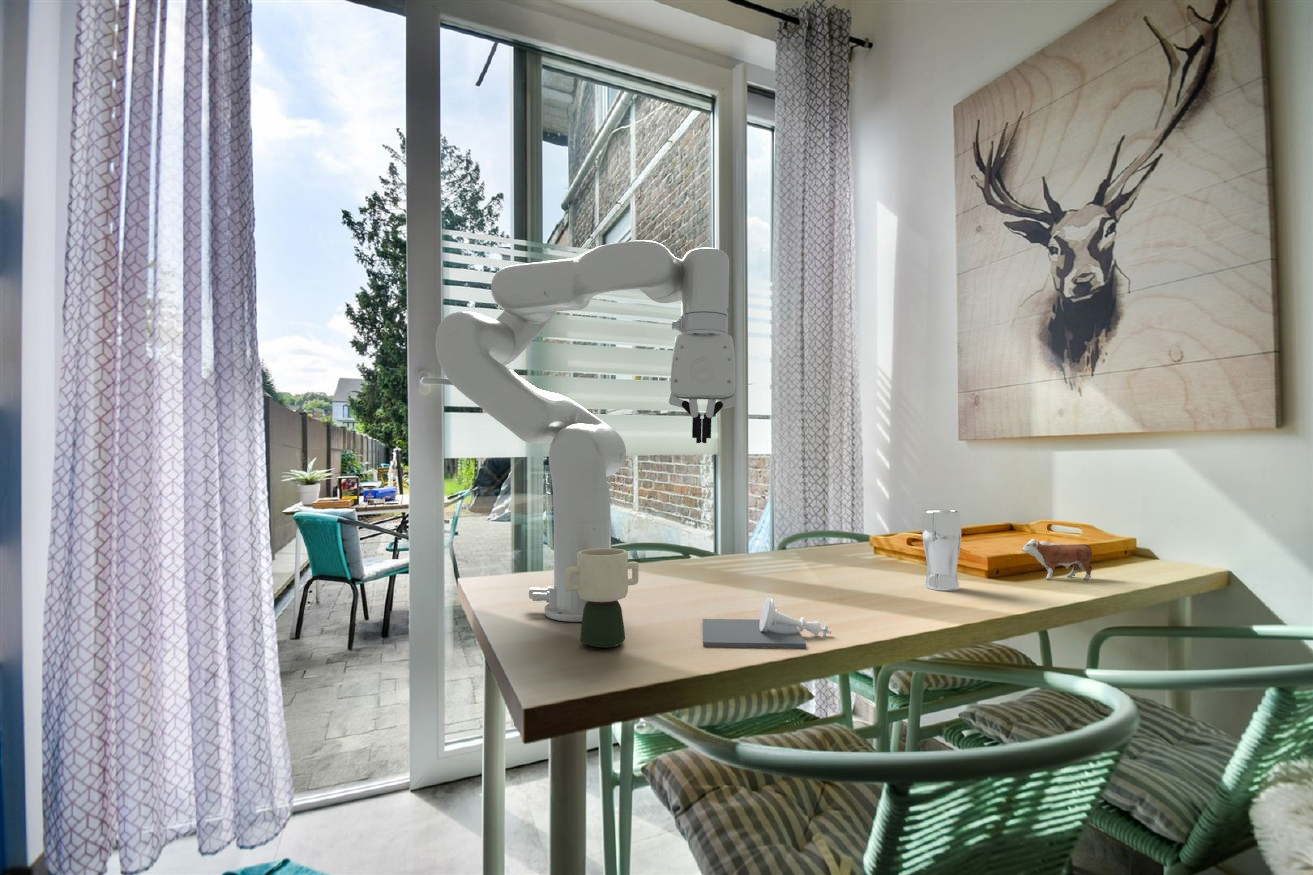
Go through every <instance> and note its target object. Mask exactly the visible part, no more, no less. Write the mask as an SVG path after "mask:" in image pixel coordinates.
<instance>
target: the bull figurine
mask: <svg viewBox="0 0 1313 875" xmlns="http://www.w3.org/2000/svg"><path fill="white" fill-rule="evenodd" d="M1021 552H1022V553H1026V554H1027V553H1028V554H1029V555H1030V556H1032V557H1034V558H1035V559H1036V560H1037V562H1038V563H1040V564H1041V565H1042V566H1043V567H1045V569H1046V570H1047V575H1045V580H1046V581H1050V580H1052V579H1053V577H1054V575H1053V573H1054V571H1055V569H1056V566H1063V567H1065V569H1066V570H1069V568H1070V567H1071V566H1072V569H1071V571H1070V572H1069V573H1068V574H1067V575H1066V578H1073V577H1075V576H1076V572H1077V571H1079V573H1081V572H1082V571H1084V569H1085V576H1084V578H1083V580H1084V581H1089V580H1090V579H1091V578H1092V575H1091V574H1092V570H1093V567H1092V564H1091V560H1092V557H1093V551H1092V547H1090V545H1088V544H1086V543H1081V544H1074V543H1073V544H1061V543H1060V544H1058V543H1053V542H1049V541H1045V540H1041V541H1037V539H1035V538H1031V539H1030V540H1029V541H1028V542H1026V543H1025V545H1024V546H1023V548H1021Z"/></svg>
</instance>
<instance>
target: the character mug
mask: <svg viewBox="0 0 1313 875" xmlns="http://www.w3.org/2000/svg"><path fill="white" fill-rule="evenodd" d="M629 569H630V570H631V569H632V570H631V578H629ZM576 573H577V584H572V574H576ZM638 582H639V563H638V562H637V561H629V554H628V550H625V549H622V548H621V549H620V548H613V547H611V548H594V549H586V550H582V551H579V552H578V553H577V566H575V567H568V568H566V569H565V590H566V591H578V594H579V596H580V598H581V599H584V600H586V601H588V602H587V603H586V604H585V606H584V610H583V618H582V622H581V625H580V636H579V637H580V638H579V641H580V642H581V643H583V644H584V645H587V646H591V647H596V648H611V647H616V646H618V645H621V644H622V643H624V641H625V640H626V633H625V632H626V631H625V624H624V619H623V618H624V617H623V609H622V606H621V604H620V602H619V600H622V599H624V598H626V597H627V595H628V591H629V586H635V585H637V584H638Z"/></svg>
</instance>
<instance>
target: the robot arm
mask: <svg viewBox="0 0 1313 875" xmlns="http://www.w3.org/2000/svg"><path fill="white" fill-rule="evenodd" d="M490 284H491V285H490V290H491V291H490V292H491V294H492V298H493V300H494V302H495V303H496V304H497V306H498V307H499V308H500V309H502V310H503V311H502V313H501V314H499V316H498V317H497V318H496V319H493V318H492V317H490V316H489V317H488V316H485V315H484V314H481V313H477V312H473V311H464V310H463V311H457V312H452V313H450V314H448V315H446V316H445V317H443V319H442V320H441V322H440V323H439V325H438V326H437V329H436V332H435V333H436V335H435V342H434V344H435V352H436V357H437V361H438V363H439V367H440V368H441V370H442V371H443V374H444V375H445V376H446V378H447V379H448V381H449V382H450V383H451V384H452V385H453V386H454V387H455V388H456V389H457V390H458V391H459V392H460V393H461V394H463V395H464V396H465V397H466V398H468V399H469V400H471V402H473V403H474V404H476V405H477V406H478V407H480V408H481V409H482V410H484V411H485V412H486V413H487V414H488V415H489V416H491V418H493V419H494V420H496V421H497V422H499V423H500V424H501V425H502V426H504V427H505V428H506V429H507V430H509V431H510V432H511V433H513V435H514V436H516V437H518V438H519V439H520V440H521V441H524V442H525V443H529V444H532V445H544V446H545V445H548V446H549V450H548V465H549V472H550V479H551V486H552V498H553V499H552V500H553V502H552V503H553V507H552V508H553V584H552V585H549V586H548V587H543V588H542V587H530V588H529V591H528V597H529V599H530V600H532V601H534V602H541V601H544V602H546V603H547V604H546V605H545V606H544V608H543V610H544V615H545V616H546V617H547V618H549V619H551V620H555V621H561V622H570V623H571V622H572V623H582V618H583V610H584V606H585V604H586V603H587V602H588V601H586V600H584V599H581V598H580V596H579V594H578V591H566V590H565V569H566V568H568V567H575V566H577V553H578V552H579V551H582V550H586V549H594V548H612V546H611V545H612V543H611V539H612V537H611V536H612V534H611V533H612V532H611V531H612V529H611V527H612V525H611V524H612V523H611V522H612V521H611V520H612V519H611V497H610V495H611V494H610V489H609V483H608V477H611V476H613V475H615V474H616V473H618V472H619V471H620V470H621V468H622V467H623V466H624V464H625V461H626V457H627V447H626V444H625V440H623V437H622V436H621V435H620V434H619V433H618V432H617V431H616V430H615V429H614V428H612V427H611V426H610V425H609V424H607V423H605V421H603V420H602V419H600V418H598V417H597V416H596V415H594V414H593V413H592V412H590V411H589V410H588V409H586V408H585V407H583V406H582V405H581V404H579V403H578V402H576V401H575V400H573V399H571V398H569V397H567V396H565V395H562V394H559V393H557V392H556V393H555V392H550V391H547V390H542V389H540V388H537V387H536V386H535V385H532V384H531V383H530V382H528V381H527V380H525V379H524V378H522V377H520V376H519V374H517V373H516V372H514V370H512V369H511V368H508V367H507V365H509V364H511V363H512V362H514V361H515V360H516V359H518V357H519V356H520V355H521V354H522V353H523V352H524V351H525V350H526V349H527V347H528V346H530V344H531V343H532V342H533V341H535V339H536V338H537V337H538V336H539V335H540V334H541V333H542V331H543V330H544V329H545V328H546V327H547V326H548V325H549V323H550V322H551V320H552V319H553V318H554V317H555V315H556V314H557V312H565V311H566V312H567V311H579V310H583V309H585V308H587V307H588V305H589V304H590V302H591V299H592V298H594V297H595V296H597V295H601V294H604V293H609V292H617V291H626V290H640V291H641V292H642V293H643V294H644V295H646V296H647V298H649V300H650V299H651V301H654V302H656V303H659V304H670V303H676V302H679V301H680V302H681V303H680V304H681V305H680V306H681V307H680V308H681V309H680V310H681V311H680V312H681V313H680V318H678V320H673V321H671V329H672V330H676V331H678V332H679V333H680V334H677V335H676V336H675V338H674V342H673V349H672V356H671V357H672V358H671V368H670V384H669V385H670V395H669V400H668V404H669V405H671V406H674V407H676V408H682V409H684V410H685V411H686V412H687V413H688V415H690V416H691V418H692V421H691V422H692V427H691V428H692V429H691V431H692V432H691V435H692V436H691V437H692V439H695V440H696V441H695V442H696V444H701V443H703V444H707V442H708V439H711V438H712V419H713V418H714V417H715V416H716V415H717V414H718V413H720V412H719V411H721V410H723V409H728V408H731V407H735V406H736V405H737V401H736V400H737V399H736V396H735V395H736V394H735V390H736V356H735V355H736V354H735V344H734V340H733V336H732V335H730V334H728V333H729V331H728V329H729V296H730V295H729V293H730V291H729V289H730V288H729V286H730V258H729V256H728V254H727V252H725V251H724V250H721V249H718V248H714V247H699V248H694V249H691V250H689V251H687V252H686V253H685V254H684V257H683V258H682V259H681V258H678V257H675V256H674V255H673V253H672V252H671V251H670V250H669V249H668V248H667V247H666V246H665V245H663V244H662V243H660V242H657V241H655V240H654V241H653V240H629V241H623V242H622V241H621V242H613V243H608V244H603V245H599V246H597V247H594V248H592V249H590V250H588V251H586V252H584V253H582V254H580V255H579V256H577V257H573V258H565V259H556V260H547V261H539V262H538V261H537V262H530V263H521V264H513V265H512V264H511V265H508V266H505V267H502V268H500V269H499V270H498V271H497V272H495V274H494V276H493V277H492V280H491V283H490ZM698 400H707V404H706V410H705V413H704V414H703V418H702V417H701V413H700V412H699V406H698ZM717 400H719V401H717ZM572 584H577V573H576V574H572Z"/></svg>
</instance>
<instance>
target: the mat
mask: <svg viewBox="0 0 1313 875" xmlns="http://www.w3.org/2000/svg"><path fill="white" fill-rule="evenodd" d="M759 624H760V619H755V618H754V619H751V618H750V619H741V618H740V619H738V618H702V646H703V647H708V648H709V647H710V648H711V647H713V648H714V647H715V648H716V647H717V648H764V647H778V649H779V648H780V649H782V648H783V649H807V643H806V642H805V640H804V638H803V635H802V634H801V633H800V632H801V631H800V632H799V629H798V627H797V626H791V625H784V624H775V625H773V624H771V626H770V628H769V630H768V631H767V632H764V631H762V632H761V631H760V627H759ZM781 647H782V648H781Z"/></svg>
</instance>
